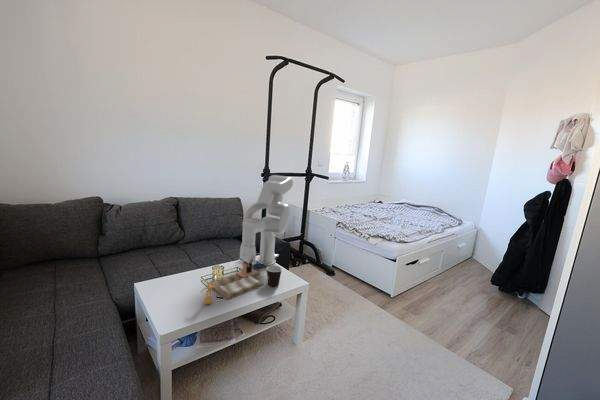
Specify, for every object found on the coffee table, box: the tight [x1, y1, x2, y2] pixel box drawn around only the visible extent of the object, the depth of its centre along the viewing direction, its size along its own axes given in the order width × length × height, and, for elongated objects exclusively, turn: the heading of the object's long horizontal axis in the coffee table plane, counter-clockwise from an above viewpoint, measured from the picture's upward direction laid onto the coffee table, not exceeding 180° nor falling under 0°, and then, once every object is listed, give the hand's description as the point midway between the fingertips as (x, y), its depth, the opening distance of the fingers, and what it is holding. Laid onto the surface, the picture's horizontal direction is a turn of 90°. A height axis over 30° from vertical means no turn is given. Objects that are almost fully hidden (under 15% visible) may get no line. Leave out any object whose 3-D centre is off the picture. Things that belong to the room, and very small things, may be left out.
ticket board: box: [209, 273, 264, 301], centre depth 155 cm, size 24×18×3 cm
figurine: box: [199, 282, 218, 305], centre depth 134 cm, size 8×6×12 cm
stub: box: [236, 262, 258, 278], centre depth 166 cm, size 10×7×7 cm
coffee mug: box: [266, 264, 283, 288], centre depth 160 cm, size 12×9×10 cm
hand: (247, 270), depth 166 cm, fingers closed on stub, 3 cm apart
